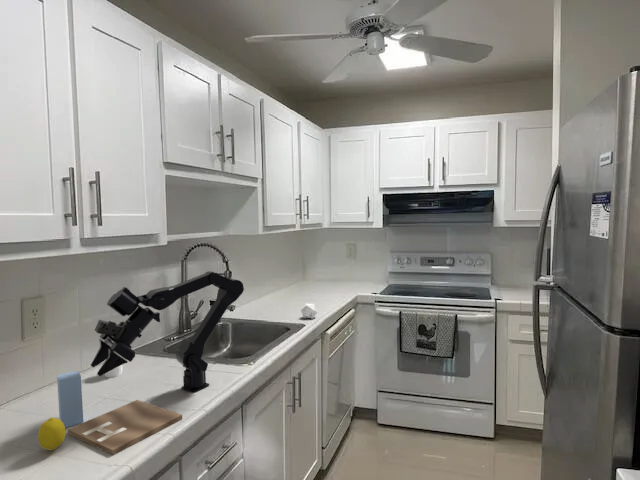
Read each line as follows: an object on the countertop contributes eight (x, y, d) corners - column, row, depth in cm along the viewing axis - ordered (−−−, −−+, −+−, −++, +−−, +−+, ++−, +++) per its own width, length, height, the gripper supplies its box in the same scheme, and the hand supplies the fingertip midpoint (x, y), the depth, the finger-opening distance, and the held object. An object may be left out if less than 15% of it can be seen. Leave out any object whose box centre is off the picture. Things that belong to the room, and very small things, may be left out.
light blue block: (80, 415, 117) (77, 370, 117) (83, 422, 113) (80, 375, 113) (59, 421, 114) (57, 375, 113) (62, 428, 110) (59, 380, 110)
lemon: (71, 443, 102) (69, 412, 102) (57, 456, 97) (55, 423, 96) (48, 444, 102) (46, 413, 102) (33, 457, 97) (31, 424, 96)
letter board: (137, 403, 124) (137, 399, 124) (182, 418, 114) (182, 414, 113) (67, 433, 107) (67, 428, 107) (113, 455, 97) (112, 449, 97)
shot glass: (105, 379, 144) (104, 359, 144) (100, 374, 150) (99, 355, 149) (126, 374, 149) (125, 355, 149) (120, 369, 154) (120, 351, 154)
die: (306, 321, 222) (317, 307, 222) (295, 312, 226) (305, 298, 226) (312, 323, 229) (322, 309, 229) (301, 314, 233) (311, 300, 233)
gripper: (106, 304, 127) (66, 347, 121) (120, 314, 112) (76, 363, 106) (134, 325, 132) (97, 367, 126) (152, 337, 117) (111, 386, 111)
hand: (95, 370), depth 117 cm, fingers open, 9 cm apart
